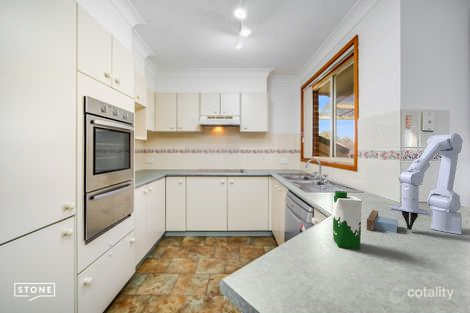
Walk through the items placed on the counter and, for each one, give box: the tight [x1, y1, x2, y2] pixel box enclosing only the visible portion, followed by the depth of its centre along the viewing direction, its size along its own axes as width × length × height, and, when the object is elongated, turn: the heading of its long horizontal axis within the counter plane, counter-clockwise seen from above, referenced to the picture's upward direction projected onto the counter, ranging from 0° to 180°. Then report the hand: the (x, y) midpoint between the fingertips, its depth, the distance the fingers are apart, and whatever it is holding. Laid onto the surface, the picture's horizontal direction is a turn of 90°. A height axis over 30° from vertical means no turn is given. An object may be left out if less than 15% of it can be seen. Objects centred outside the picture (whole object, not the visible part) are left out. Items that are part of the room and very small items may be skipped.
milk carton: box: [332, 190, 363, 251], centre depth 77 cm, size 9×9×20 cm
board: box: [366, 209, 379, 232], centre depth 99 cm, size 2×20×5 cm, turn 140°
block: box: [374, 215, 399, 234], centre depth 95 cm, size 8×10×4 cm
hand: (409, 229), depth 90 cm, fingers closed
